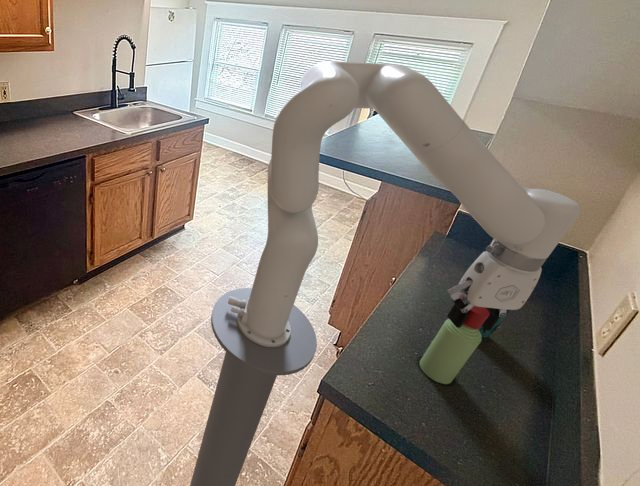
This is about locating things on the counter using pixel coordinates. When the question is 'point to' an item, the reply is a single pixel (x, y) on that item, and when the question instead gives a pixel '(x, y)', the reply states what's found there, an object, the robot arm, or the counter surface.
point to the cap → (476, 317)
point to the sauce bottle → (449, 351)
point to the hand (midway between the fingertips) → (468, 322)
